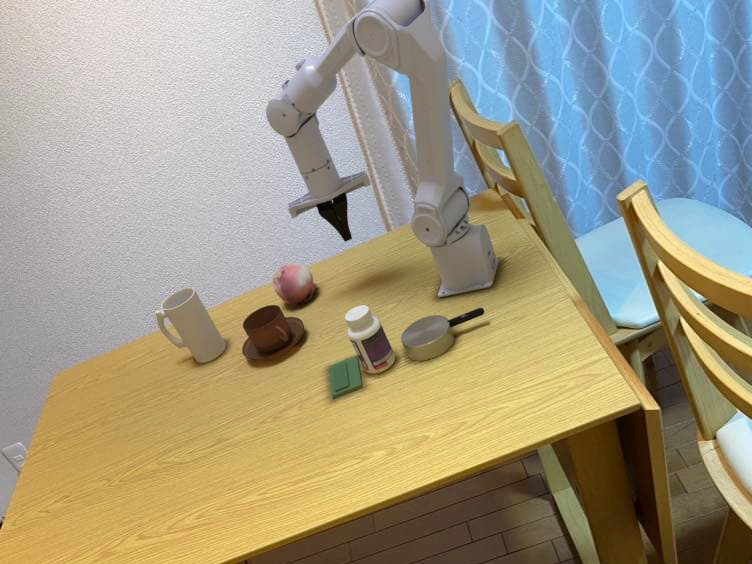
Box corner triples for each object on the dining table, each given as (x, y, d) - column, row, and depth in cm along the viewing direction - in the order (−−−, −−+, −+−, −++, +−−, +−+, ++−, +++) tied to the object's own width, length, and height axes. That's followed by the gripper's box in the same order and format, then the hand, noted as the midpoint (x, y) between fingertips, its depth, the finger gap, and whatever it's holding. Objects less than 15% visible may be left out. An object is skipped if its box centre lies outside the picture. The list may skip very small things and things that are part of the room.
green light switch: (358, 357, 140) (356, 353, 140) (362, 387, 134) (360, 382, 133) (330, 368, 141) (327, 364, 140) (333, 399, 134) (330, 394, 134)
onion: (279, 301, 165) (262, 268, 161) (314, 281, 166) (298, 248, 161) (290, 316, 159) (272, 283, 155) (326, 295, 160) (309, 262, 155)
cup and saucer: (319, 325, 153) (305, 295, 149) (284, 368, 147) (268, 338, 143) (270, 326, 159) (255, 297, 155) (235, 367, 153) (218, 339, 149)
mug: (231, 337, 162) (199, 283, 154) (222, 358, 157) (188, 303, 149) (186, 350, 165) (152, 297, 157) (176, 371, 161) (140, 318, 153)
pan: (410, 367, 133) (403, 352, 131) (404, 341, 139) (398, 327, 137) (493, 334, 131) (487, 319, 129) (483, 309, 136) (478, 294, 135)
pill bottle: (400, 351, 137) (378, 300, 130) (389, 373, 134) (365, 321, 127) (371, 354, 139) (348, 304, 133) (359, 376, 136) (335, 325, 130)
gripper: (354, 138, 143) (383, 212, 152) (275, 173, 146) (309, 244, 155) (357, 153, 138) (387, 229, 147) (275, 188, 140) (310, 261, 149)
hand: (348, 238), depth 151 cm, fingers closed
